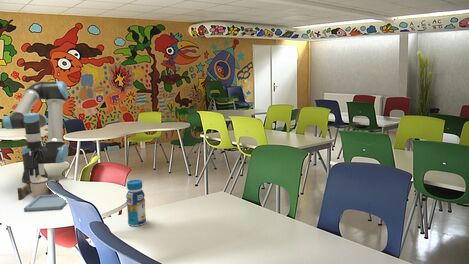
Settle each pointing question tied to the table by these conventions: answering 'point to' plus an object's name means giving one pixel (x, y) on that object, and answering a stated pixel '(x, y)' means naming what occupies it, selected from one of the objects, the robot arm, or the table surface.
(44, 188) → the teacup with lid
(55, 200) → the tray
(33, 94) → the robot arm
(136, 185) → the beverage bottle
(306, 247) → the table surface
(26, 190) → the walnut rack
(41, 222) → the table surface
